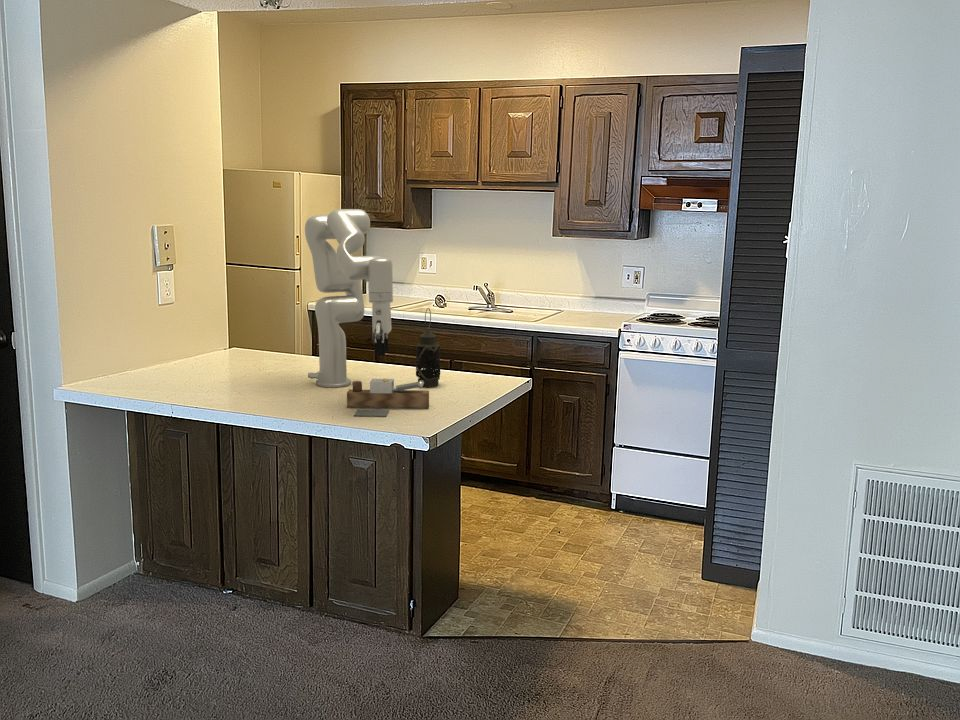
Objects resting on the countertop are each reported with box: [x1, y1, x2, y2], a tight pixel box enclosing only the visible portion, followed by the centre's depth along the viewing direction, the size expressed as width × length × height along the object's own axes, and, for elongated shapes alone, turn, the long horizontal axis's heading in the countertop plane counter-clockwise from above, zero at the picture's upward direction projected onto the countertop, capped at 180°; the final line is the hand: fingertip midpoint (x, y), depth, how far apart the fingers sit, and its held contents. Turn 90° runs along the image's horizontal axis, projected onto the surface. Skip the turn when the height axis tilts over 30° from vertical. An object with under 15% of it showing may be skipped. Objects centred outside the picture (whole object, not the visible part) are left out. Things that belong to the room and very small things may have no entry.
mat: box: [353, 409, 390, 418], centre depth 266 cm, size 10×7×1 cm
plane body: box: [346, 380, 430, 410], centre depth 274 cm, size 26×4×8 cm, turn 89°
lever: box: [394, 380, 424, 392], centre depth 273 cm, size 2×5×10 cm
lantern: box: [414, 307, 441, 389], centre depth 303 cm, size 10×9×28 cm
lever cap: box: [369, 378, 395, 393], centre depth 274 cm, size 7×5×4 cm
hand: (381, 352), depth 272 cm, fingers open, 6 cm apart
